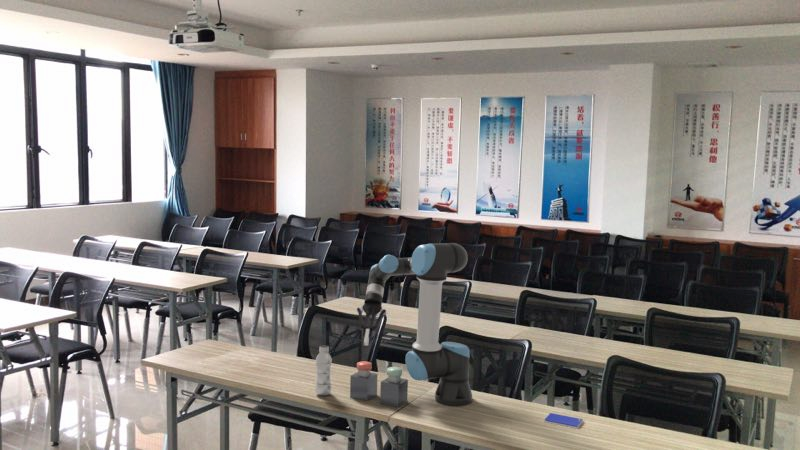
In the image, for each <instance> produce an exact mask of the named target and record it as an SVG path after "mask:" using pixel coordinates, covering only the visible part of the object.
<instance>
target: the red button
mask: <svg viewBox="0 0 800 450" xmlns="http://www.w3.org/2000/svg"><path fill="white" fill-rule="evenodd" d="M372 365H373V363H372V362H370V361H364V360H363V361H359V362H357V363H356V369H357V372H358V376H363V377H367V376H369V375H370V373H371V370H372V368H373V367H372Z"/></svg>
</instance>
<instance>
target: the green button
mask: <svg viewBox="0 0 800 450" xmlns="http://www.w3.org/2000/svg"><path fill="white" fill-rule="evenodd" d="M386 375H388V377H387V378H388V382H393V383H398V382H400V380H401V376H403V368H401V367H399V366H398V367H397V366H390V367H387V369H386Z"/></svg>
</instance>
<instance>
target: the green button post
mask: <svg viewBox="0 0 800 450" xmlns="http://www.w3.org/2000/svg"><path fill="white" fill-rule="evenodd" d="M408 382H409V379H407V378H401V380H400V382H398V383H393V382H388V377H386V378H385V379H383V380H381V381H380V394H379V396H380V398H379V399H380V401H379V403H380V405H384V406H388V407H394V408H400V407H401V406H403V405H405V404H406V403H407V402H408V393H409V392H408V390H409V389H408V388H409V386H408V385H409V383H408Z"/></svg>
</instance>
